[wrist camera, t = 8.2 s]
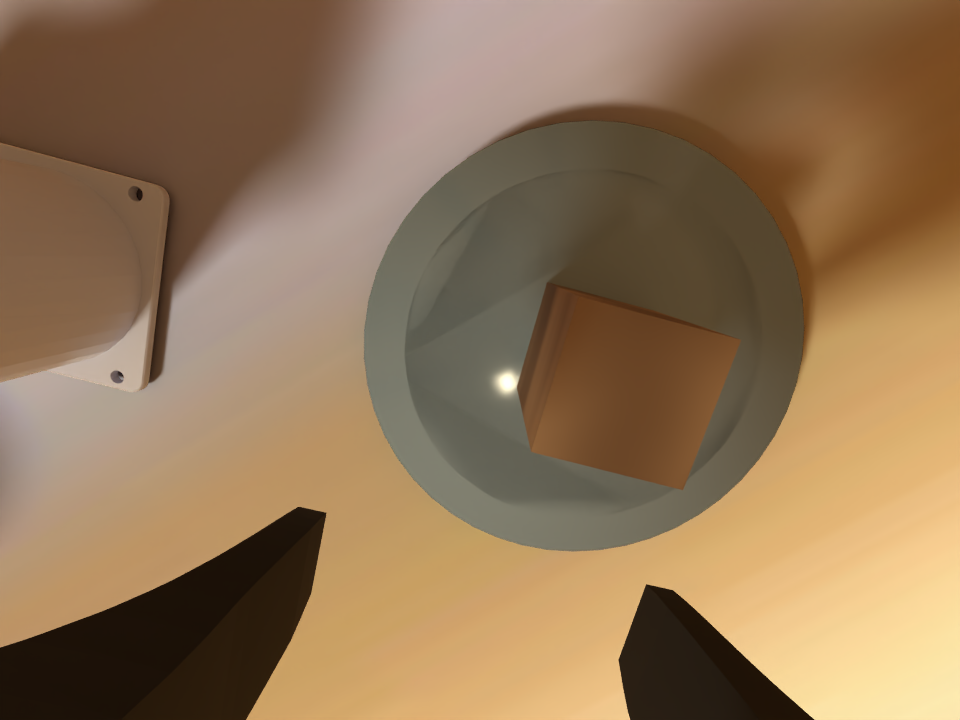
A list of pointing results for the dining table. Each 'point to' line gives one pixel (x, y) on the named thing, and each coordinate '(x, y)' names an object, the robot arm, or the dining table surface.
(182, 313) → the dining table surface
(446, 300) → the dish
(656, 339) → the walnut block
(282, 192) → the dining table surface
